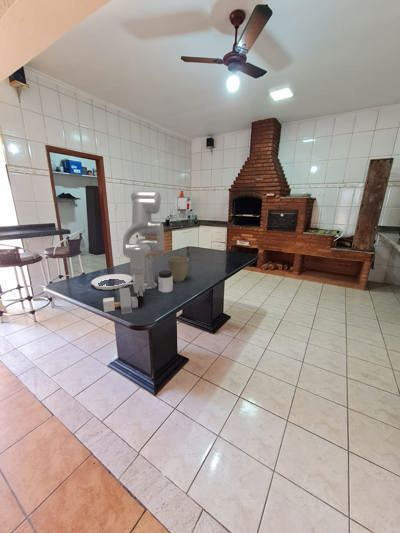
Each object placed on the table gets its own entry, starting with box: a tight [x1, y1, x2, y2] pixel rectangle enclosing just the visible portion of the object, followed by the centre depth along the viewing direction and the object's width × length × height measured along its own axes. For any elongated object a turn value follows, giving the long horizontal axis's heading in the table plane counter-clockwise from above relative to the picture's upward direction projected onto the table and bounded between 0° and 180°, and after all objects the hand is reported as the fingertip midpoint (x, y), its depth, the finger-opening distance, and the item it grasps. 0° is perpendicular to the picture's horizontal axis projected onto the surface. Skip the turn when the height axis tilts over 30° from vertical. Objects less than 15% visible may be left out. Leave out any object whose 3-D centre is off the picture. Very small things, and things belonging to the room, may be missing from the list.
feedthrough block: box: [118, 287, 133, 315], centre depth 116 cm, size 16×5×9 cm, turn 21°
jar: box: [157, 270, 174, 293], centre depth 139 cm, size 9×8×12 cm
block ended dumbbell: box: [102, 295, 139, 313], centre depth 115 cm, size 4×16×6 cm, turn 112°
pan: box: [90, 273, 147, 291], centre depth 145 cm, size 26×44×6 cm, turn 59°
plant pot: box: [167, 256, 190, 283], centre depth 157 cm, size 15×15×16 cm
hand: (140, 302), depth 119 cm, fingers closed
